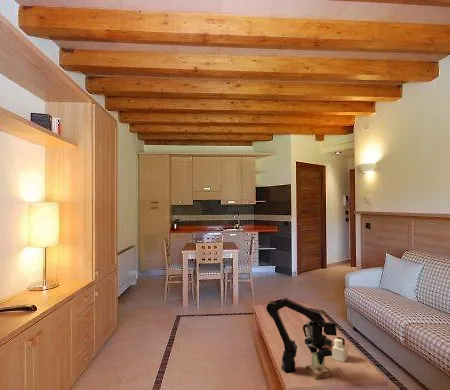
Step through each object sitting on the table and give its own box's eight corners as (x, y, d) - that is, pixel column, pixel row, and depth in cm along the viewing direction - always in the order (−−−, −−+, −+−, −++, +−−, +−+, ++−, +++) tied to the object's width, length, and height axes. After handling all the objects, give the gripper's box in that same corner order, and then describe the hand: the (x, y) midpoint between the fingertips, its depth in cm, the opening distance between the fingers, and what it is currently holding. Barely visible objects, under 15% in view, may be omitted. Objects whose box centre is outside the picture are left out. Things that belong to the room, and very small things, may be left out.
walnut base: (315, 379, 169) (315, 374, 169) (306, 370, 179) (305, 365, 179) (331, 376, 172) (331, 371, 172) (321, 367, 181) (321, 363, 182)
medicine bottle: (336, 354, 197) (335, 335, 198) (348, 357, 192) (347, 337, 193) (332, 359, 191) (331, 339, 192) (344, 362, 187) (343, 341, 187)
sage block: (316, 367, 172) (316, 356, 173) (311, 363, 177) (311, 352, 178) (324, 366, 174) (324, 355, 174) (319, 362, 179) (319, 351, 179)
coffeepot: (315, 341, 217) (314, 315, 218) (326, 346, 209) (324, 319, 210) (298, 346, 210) (297, 319, 210) (308, 352, 201) (307, 323, 202)
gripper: (339, 338, 170) (341, 367, 169) (320, 326, 188) (321, 352, 187) (321, 341, 167) (322, 371, 166) (303, 328, 184) (304, 355, 184)
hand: (318, 362), depth 176 cm, fingers closed on sage block, 5 cm apart
